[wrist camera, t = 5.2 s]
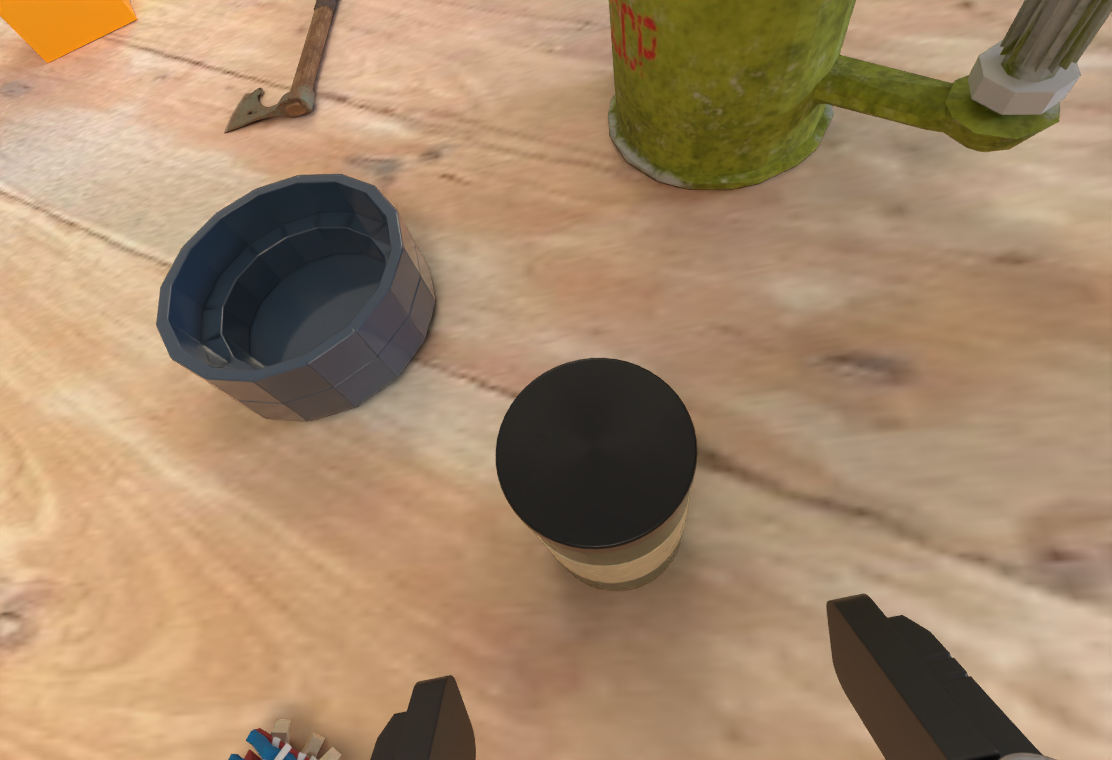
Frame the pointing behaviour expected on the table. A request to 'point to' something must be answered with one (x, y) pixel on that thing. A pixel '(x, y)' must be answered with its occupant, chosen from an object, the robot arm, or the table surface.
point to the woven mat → (284, 745)
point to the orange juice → (64, 22)
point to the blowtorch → (814, 84)
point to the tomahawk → (301, 89)
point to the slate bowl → (299, 298)
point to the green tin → (600, 469)
